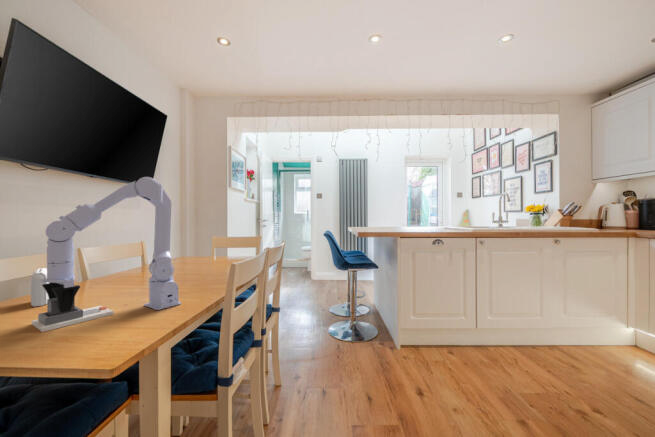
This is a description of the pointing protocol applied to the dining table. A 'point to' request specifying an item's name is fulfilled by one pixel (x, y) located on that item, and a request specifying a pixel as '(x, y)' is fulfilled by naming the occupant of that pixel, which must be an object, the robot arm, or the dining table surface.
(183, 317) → the dining table surface
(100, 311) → the white flat rectangular base
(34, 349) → the dining table surface
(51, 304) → the gray block
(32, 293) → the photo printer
